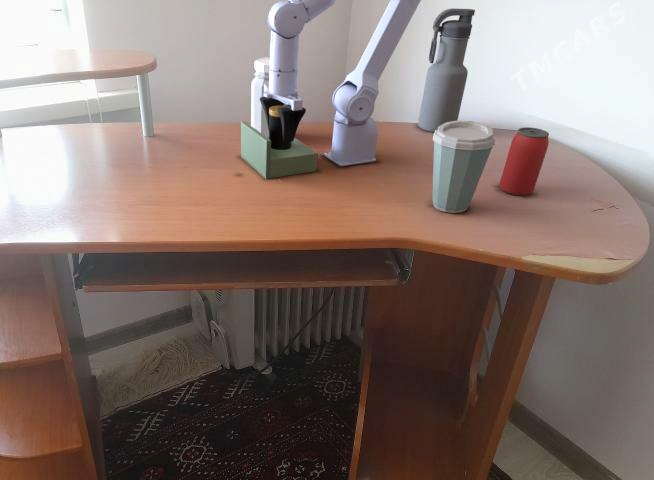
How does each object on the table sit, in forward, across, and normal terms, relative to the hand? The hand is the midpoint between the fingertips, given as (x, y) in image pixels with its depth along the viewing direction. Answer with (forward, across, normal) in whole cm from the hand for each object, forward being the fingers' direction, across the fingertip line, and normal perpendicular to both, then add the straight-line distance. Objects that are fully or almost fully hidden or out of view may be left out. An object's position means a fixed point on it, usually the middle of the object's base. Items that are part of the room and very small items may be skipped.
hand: (280, 135), depth 118 cm
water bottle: (+6, -9, +50) cm, 51 cm away
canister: (+2, 0, 0) cm, 2 cm away
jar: (+6, -17, +6) cm, 19 cm away
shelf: (+6, 0, 0) cm, 6 cm away
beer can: (+6, +31, +38) cm, 50 cm away
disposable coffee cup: (+6, +32, +20) cm, 39 cm away
